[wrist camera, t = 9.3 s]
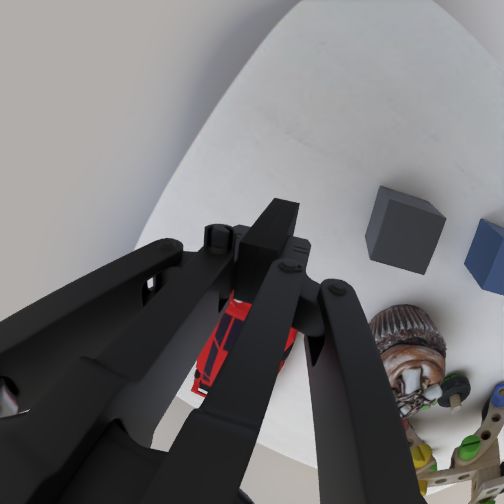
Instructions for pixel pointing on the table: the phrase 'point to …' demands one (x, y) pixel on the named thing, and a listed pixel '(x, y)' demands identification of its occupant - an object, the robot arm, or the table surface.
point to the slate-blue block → (487, 257)
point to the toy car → (226, 345)
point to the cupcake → (410, 356)
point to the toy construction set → (464, 447)
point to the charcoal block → (403, 231)
